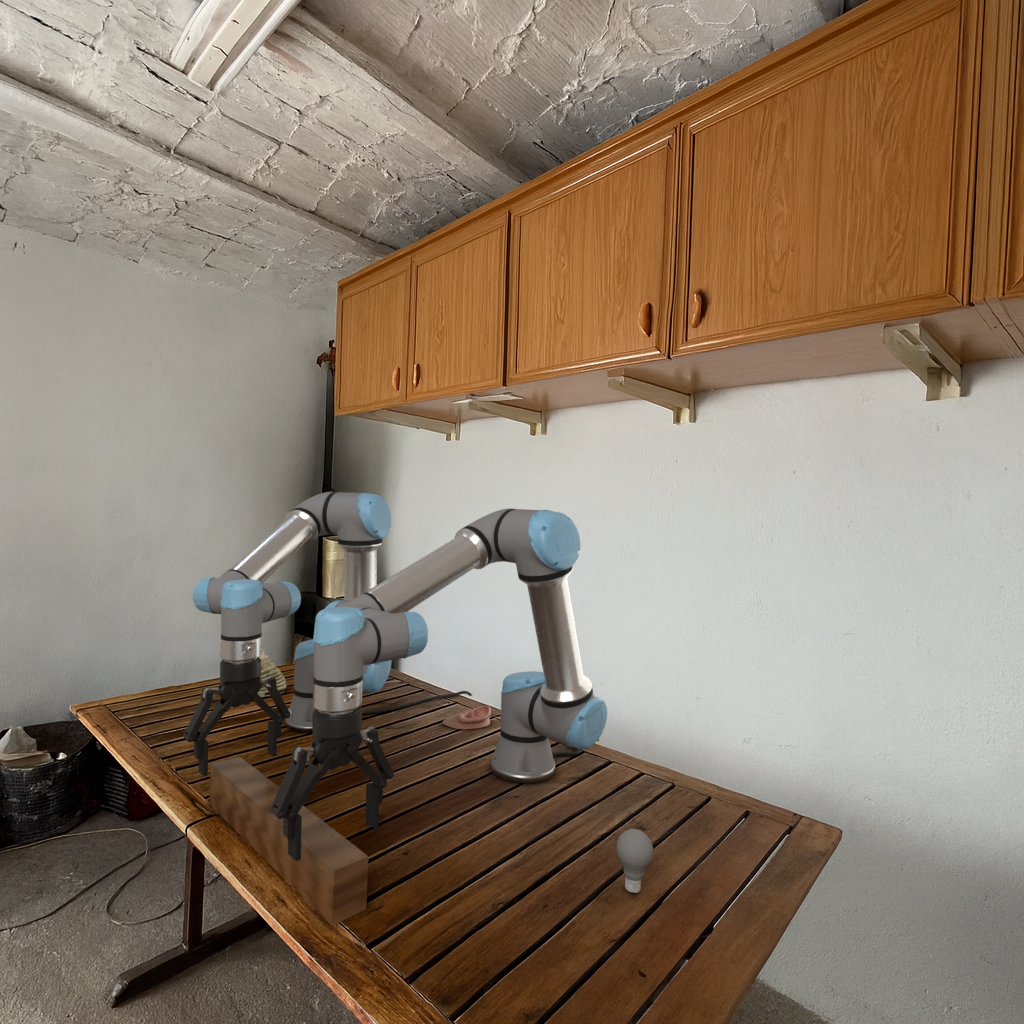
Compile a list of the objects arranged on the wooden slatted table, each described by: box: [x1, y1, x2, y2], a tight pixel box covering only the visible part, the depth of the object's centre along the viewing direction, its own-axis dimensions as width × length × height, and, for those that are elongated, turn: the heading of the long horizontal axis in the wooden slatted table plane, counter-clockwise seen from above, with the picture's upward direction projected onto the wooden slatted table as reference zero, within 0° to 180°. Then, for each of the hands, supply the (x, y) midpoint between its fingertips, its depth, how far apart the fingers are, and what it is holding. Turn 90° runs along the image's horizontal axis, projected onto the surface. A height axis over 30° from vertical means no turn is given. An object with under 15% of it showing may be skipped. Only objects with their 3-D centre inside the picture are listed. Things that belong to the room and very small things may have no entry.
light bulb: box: [615, 828, 654, 894], centre depth 106 cm, size 6×6×10 cm
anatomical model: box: [441, 705, 492, 730], centre depth 181 cm, size 13×4×12 cm
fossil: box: [258, 648, 288, 698], centre depth 198 cm, size 9×18×15 cm, turn 132°
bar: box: [208, 756, 369, 927], centre depth 113 cm, size 49×6×8 cm, turn 45°
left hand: (238, 763), depth 126 cm, fingers open, 13 cm apart
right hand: (334, 840), depth 100 cm, fingers open, 13 cm apart
